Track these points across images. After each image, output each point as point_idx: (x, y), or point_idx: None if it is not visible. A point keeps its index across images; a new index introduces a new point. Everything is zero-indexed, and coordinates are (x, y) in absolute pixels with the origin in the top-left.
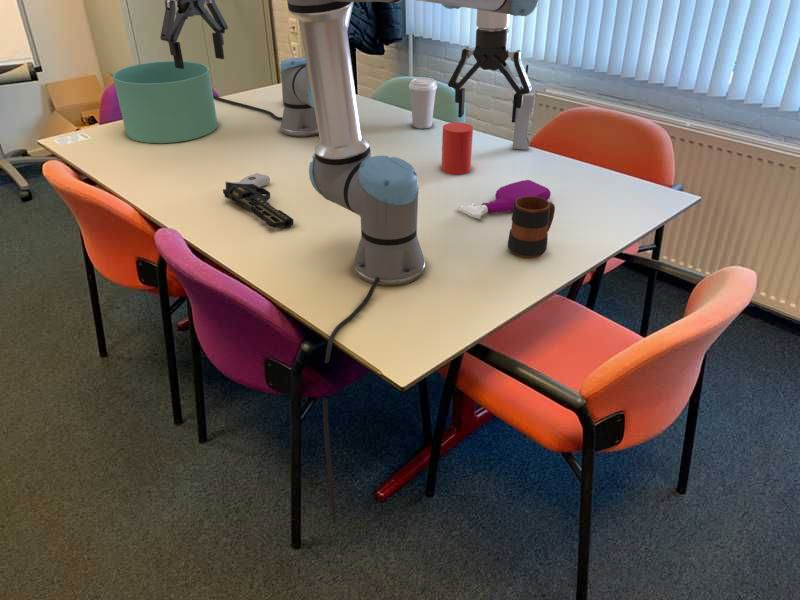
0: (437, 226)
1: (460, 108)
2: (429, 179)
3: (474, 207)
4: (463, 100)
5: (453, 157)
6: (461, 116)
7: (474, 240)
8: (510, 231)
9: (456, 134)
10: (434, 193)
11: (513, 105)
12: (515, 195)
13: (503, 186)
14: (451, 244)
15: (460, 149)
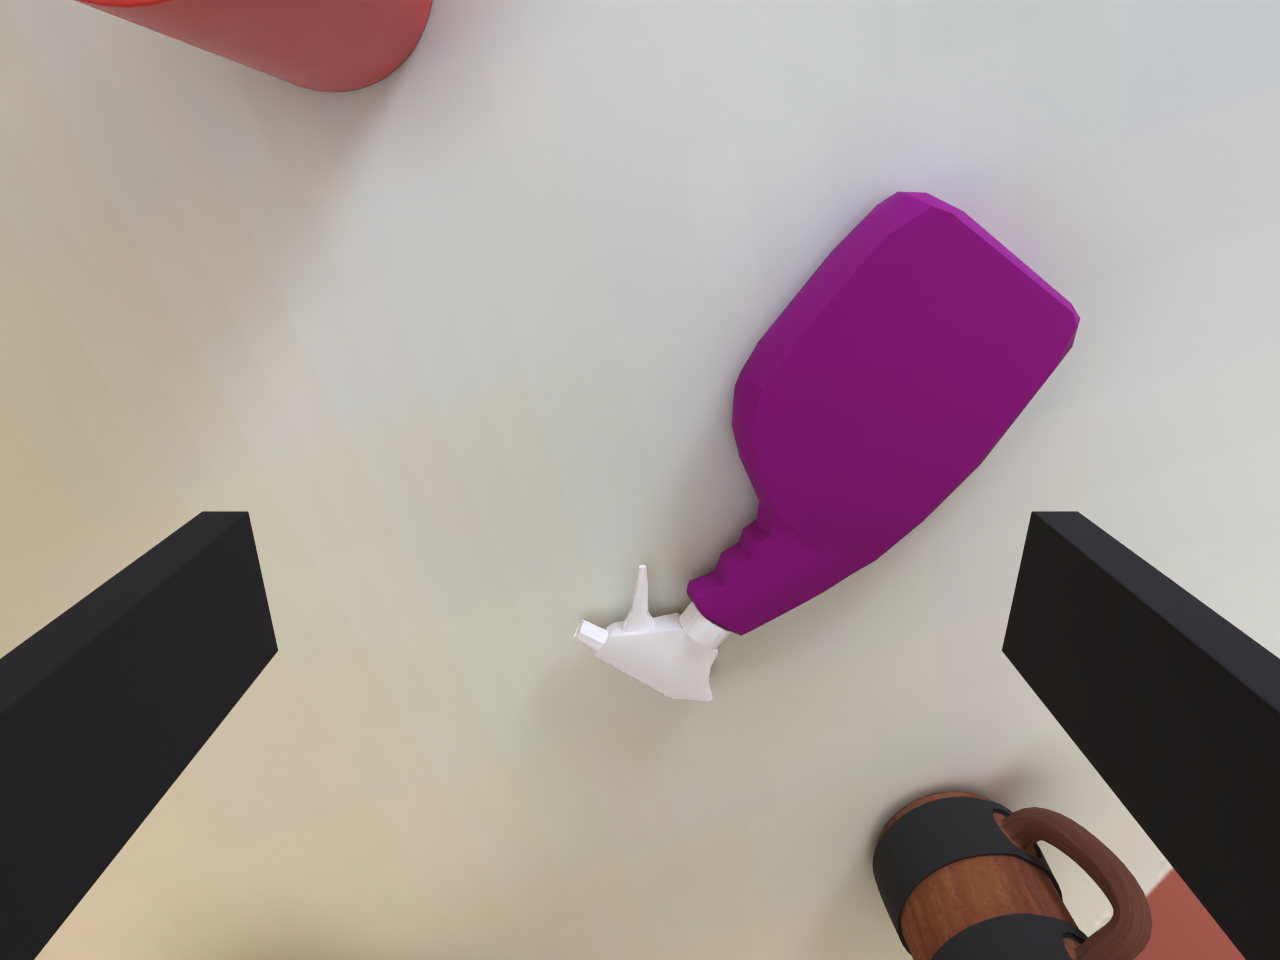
0: (536, 773)
1: (193, 741)
2: (236, 245)
3: (664, 647)
4: (110, 716)
5: (283, 66)
6: (270, 639)
7: (724, 827)
8: (899, 923)
9: (178, 12)
10: (368, 447)
11: (1166, 847)
12: (867, 477)
13: (776, 371)
14: (644, 878)
15: (305, 30)
